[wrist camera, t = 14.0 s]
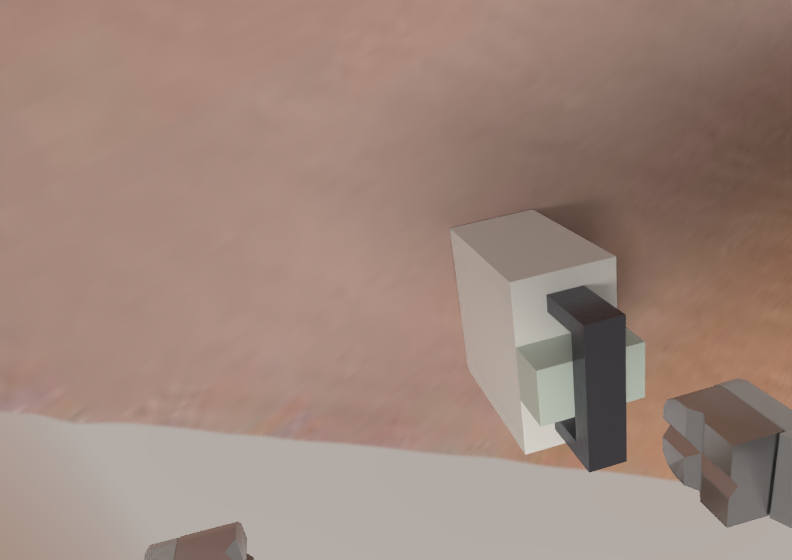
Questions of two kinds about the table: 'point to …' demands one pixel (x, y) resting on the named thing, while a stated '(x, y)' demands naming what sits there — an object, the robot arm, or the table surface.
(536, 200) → the table surface
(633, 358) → the stand
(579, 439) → the frame
